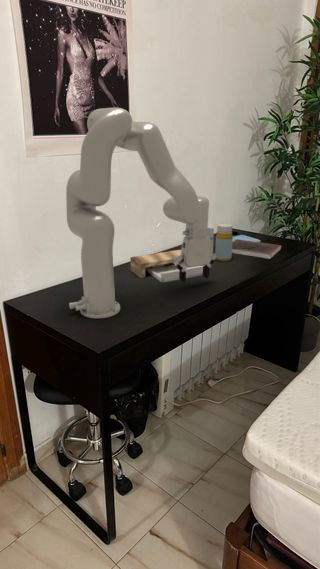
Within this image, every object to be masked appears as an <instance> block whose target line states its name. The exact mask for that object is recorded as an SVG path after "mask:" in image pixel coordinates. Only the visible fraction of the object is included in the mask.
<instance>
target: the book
mask: <svg viewBox="0 0 320 569" xmlns="http://www.w3.org/2000/svg"><path fill="white" fill-rule="evenodd" d="M280 250H282V245H280V244H273V243H265V242H261V241H260V242H253V241H246V240H239V239H236V240H235V241H233V242H232V254H236V255H237V254H238V255H243V256H251V257H255V258H256V257H257V258H263V259H269V260H270V259H272V258H273V257H274V256H275V255H276V254H277V253H278V252H280Z"/></svg>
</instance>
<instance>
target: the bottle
mask: <svg viewBox="0 0 320 569" xmlns="http://www.w3.org/2000/svg"><path fill="white" fill-rule="evenodd" d="M216 227H217V228H216V230H217V231H216V235H215V245H214V246H215V248H214V249H215V250H214V254H216V255H217V256H216V258H215V260H216V261H218V262H229V261H230V260H231V259H232V256H233V255H232V254H233V253H232V241H233V237H234V236H233V224H231V223H224V222H223V223H218V224H217V226H216Z"/></svg>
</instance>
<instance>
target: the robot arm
mask: <svg viewBox="0 0 320 569" xmlns="http://www.w3.org/2000/svg"><path fill="white" fill-rule="evenodd" d="M86 125H87V130H88V131H87V133H86V134H85V136H84V138H83V141H82V144H81V149H80V163H79V165H80V167H79V169H78V170H77V169H76V170H75V171H74V172H73V173H71V175H70V176H69V178H68V179H67V184H66V188H65V189H66V190H65V191H66V192H65V193H66V194H65V196H66V197H65V198H66V222H67V226H68V227H67V228H68V229H69V231H70V232H71V233H72V234H73V235H75V236H77V237H78V238H80V239H82V242H81V243H82V244H81V249H80V250H81V251H80V260H81V261H80V262H81V273H82V274H81V275H82V287H83V289H82V290H83V296H81V299H79V300H78V301H73V302H68V306H69V307H68V308H69V310H73V309H75V311H80V314H81V315H82V316H83V317H85V318H90V319H98V320H99V319H105V318H110V317H113V316H115V315H117V314H118V313H119V312H120V311H121V305H120V303H119V302H117V301H116V297H115V296H116V295H115V293H116V292H115V272H114V256H113V255H114V254H113V253H114V251H113V250H114V249H113V248H114V241H115V240H114V239H115V226H114V223H113V220H112V219H111V217H110V216H109V215H107V214H106V213H105V212H102V211H100V210H97V207H101V206H104V205H106V204H107V203H108V202H109V200H110V197H111V193H112V192H111V190H112V188H111V186H112V184H111V183H112V180H111V179H112V159H113V153H114V151H115V149H116V147H118V148H121V149H125V150H128V151H131V152H137V153H138V155H139V157H140V159H141V162H142V163H143V165H144V167H145V168H144V169H145V170H146V173H147V175H148V176H149V179H151V180H152V182H154V183H155V185H157V186H158V187H160V188H162V189H163V190H164V191H165V192H166V193H167V194H169V195H170V198H168V199H167V200H166V201H165V202H164V203H163V206H162V211H163V214H164V215H165V217H166V218H168V219H170V220H172V221H175V222H180V223H182V224H185V230H184V231H182V235H183V236H184V237H183V239H182V244H181V249H182V250H181V249H180V250H181V255H179V256H178V257H176V258H175V259H174V260H173V262H174V264H175V266H176V267H177V268H178V270H179V280H180V281H181V282H182V283H186V281H187V278H186V272H185V270H186V268H187V267H193V266H201V265H205V266H203V275H202V277H203V278H205V279H210V278H209V276H210V268H212V265H213V264H214V262H215V260H216V256H217V255H216V254H215V252H213V253H212V252H211V247H210V239H209V236H207V230H208V224H209V210H210V209H209V208H210V200H209V199H208V198H207V197H205V196H199V195H197V192H196V191H195V189H194V187H193V185H192V184H191V183H190V182H189V181H188V179H186V177H185V176H184V175H183V173H182V172H181V171H180V170H179V169H178V167H176V165H175V162H174V161H173V158H172V155H171V154H170V151H169V148H168V147H167V145H166V142H165V140H164V137H163V134H162V133H161V131H160V128H159V127H158V126H157V125H156V124H155V123H153V122H150V121H149V122H148V121H133V117H132V115H131V114H130V112H129V111H128V110H126V109H124V108H122V107H105V108H97V109H94V110H92V111H91V112H90V113H89V115H88V117H87V121H86ZM180 260H181V264H180V265H179V261H180Z"/></svg>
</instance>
